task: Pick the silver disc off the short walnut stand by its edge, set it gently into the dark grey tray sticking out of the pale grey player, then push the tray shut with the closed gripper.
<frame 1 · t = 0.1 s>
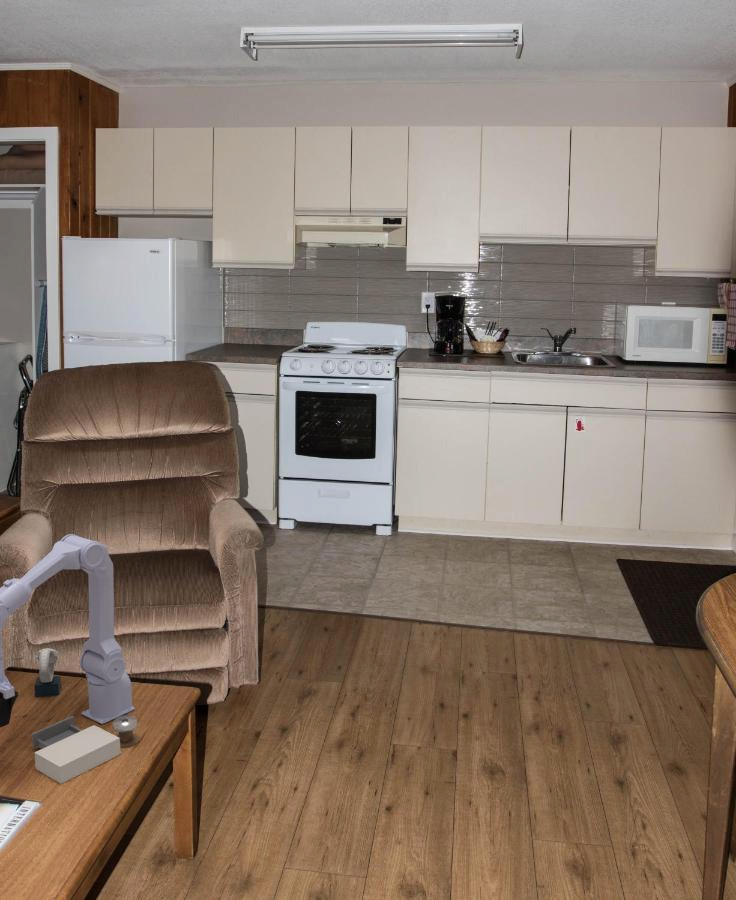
stand: (126, 741, 210), on the table
disc: (125, 726, 209), point 3 cm above the table, touching stand
watch: (48, 692, 233), on the table
player: (85, 758, 203), on the table
tray: (64, 737, 207), point 2 cm above the table, slide at 6.0 cm
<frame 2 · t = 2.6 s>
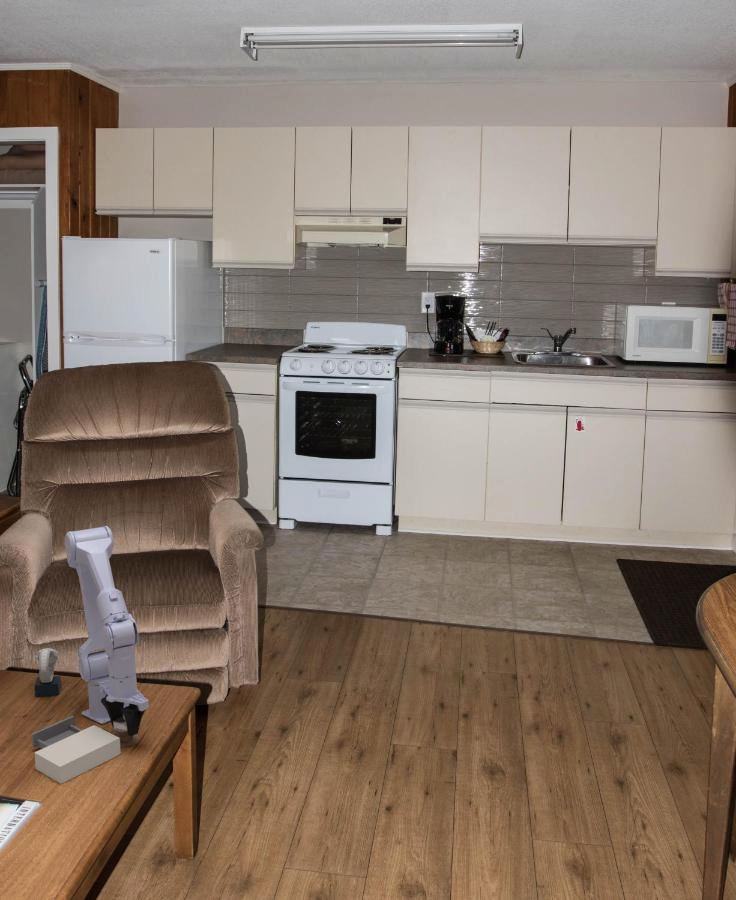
hand: (125, 730, 209), 3 cm above the table, tool pointing down, fingers closed on disc, 5 cm apart
disc: (125, 726, 209), point 3 cm above the table, touching gripper, stand
everything else where it was.
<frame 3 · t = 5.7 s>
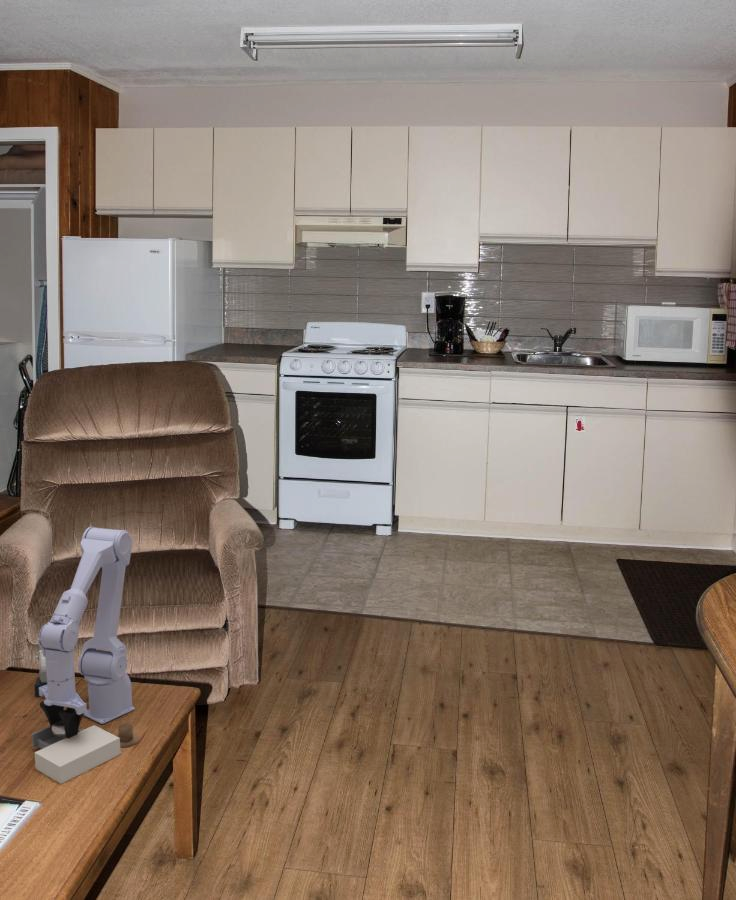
hand: (64, 734, 206), 3 cm above the table, tool pointing down, fingers closed on disc, 5 cm apart
disc: (64, 730, 206), point 4 cm above the table, touching gripper
everything else where it was.
when the fingers open (3 cm above the table, at t = 6.9 s): disc drops 3 cm, resting on tray.
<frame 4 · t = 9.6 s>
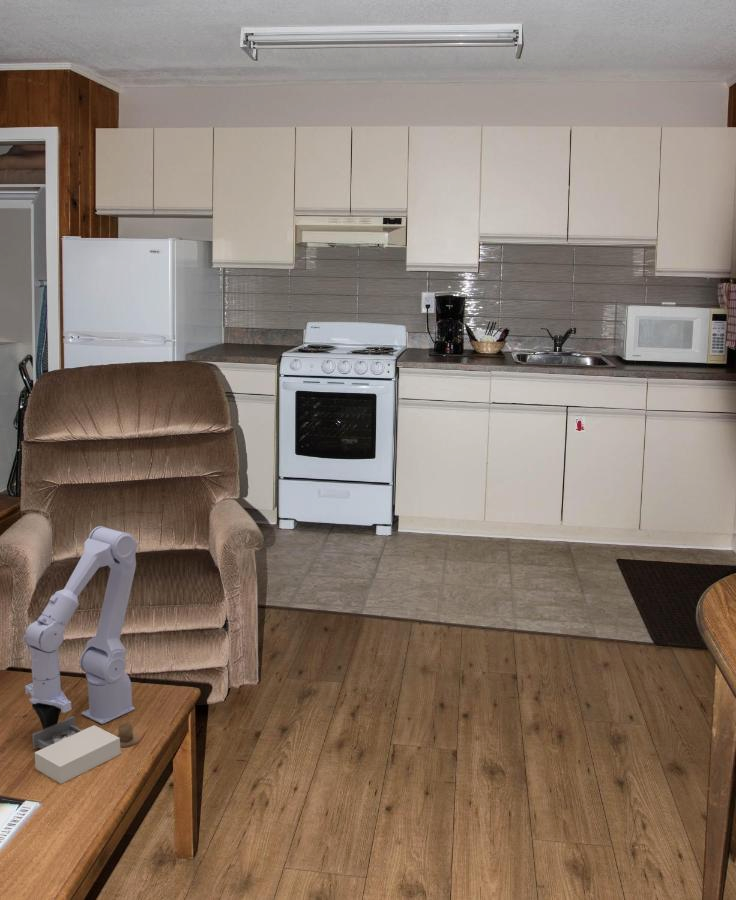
hand: (50, 731, 210), 2 cm above the table, tool pointing down, fingers closed
disc: (64, 741, 207), point 1 cm above the table, touching tray
tray: (65, 737, 206), point 2 cm above the table, slide at 5.8 cm, touching disc, gripper
everything else where it was.
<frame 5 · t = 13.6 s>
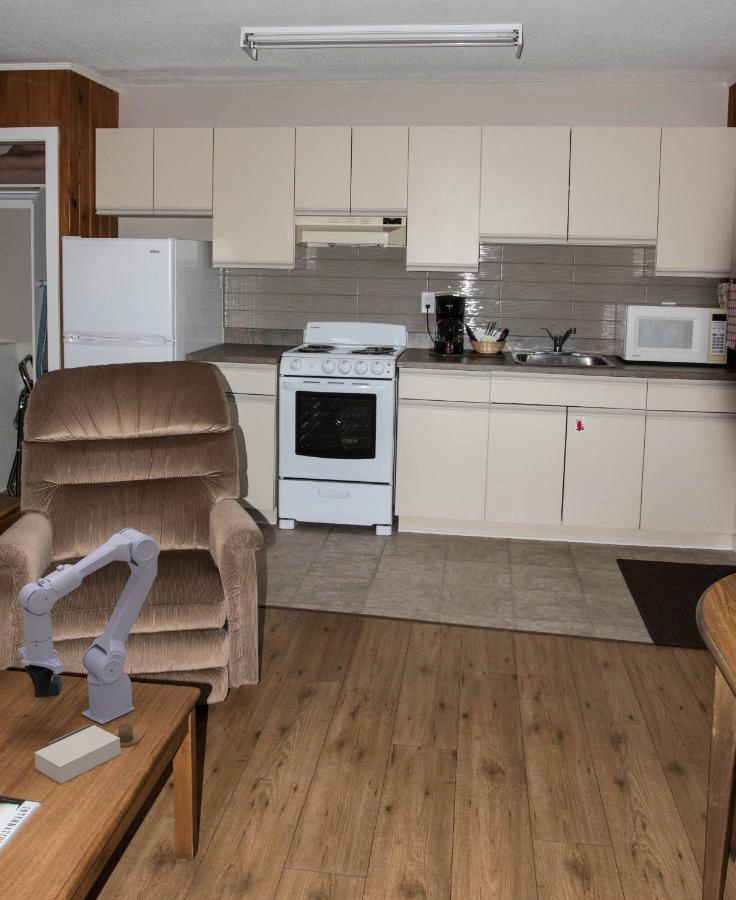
hand: (42, 694, 211), 9 cm above the table, tool pointing down, fingers closed
disc: (80, 750, 203), point 1 cm above the table, touching tray
tray: (81, 746, 203), point 2 cm above the table, slide at 0.0 cm, touching disc
everything else where it was.
at the end: tray slide at 0.0 cm; disc inside the target area on the player (1.3 cm from its centre), point 1.4 cm above the player's base; disc tilted 0° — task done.
